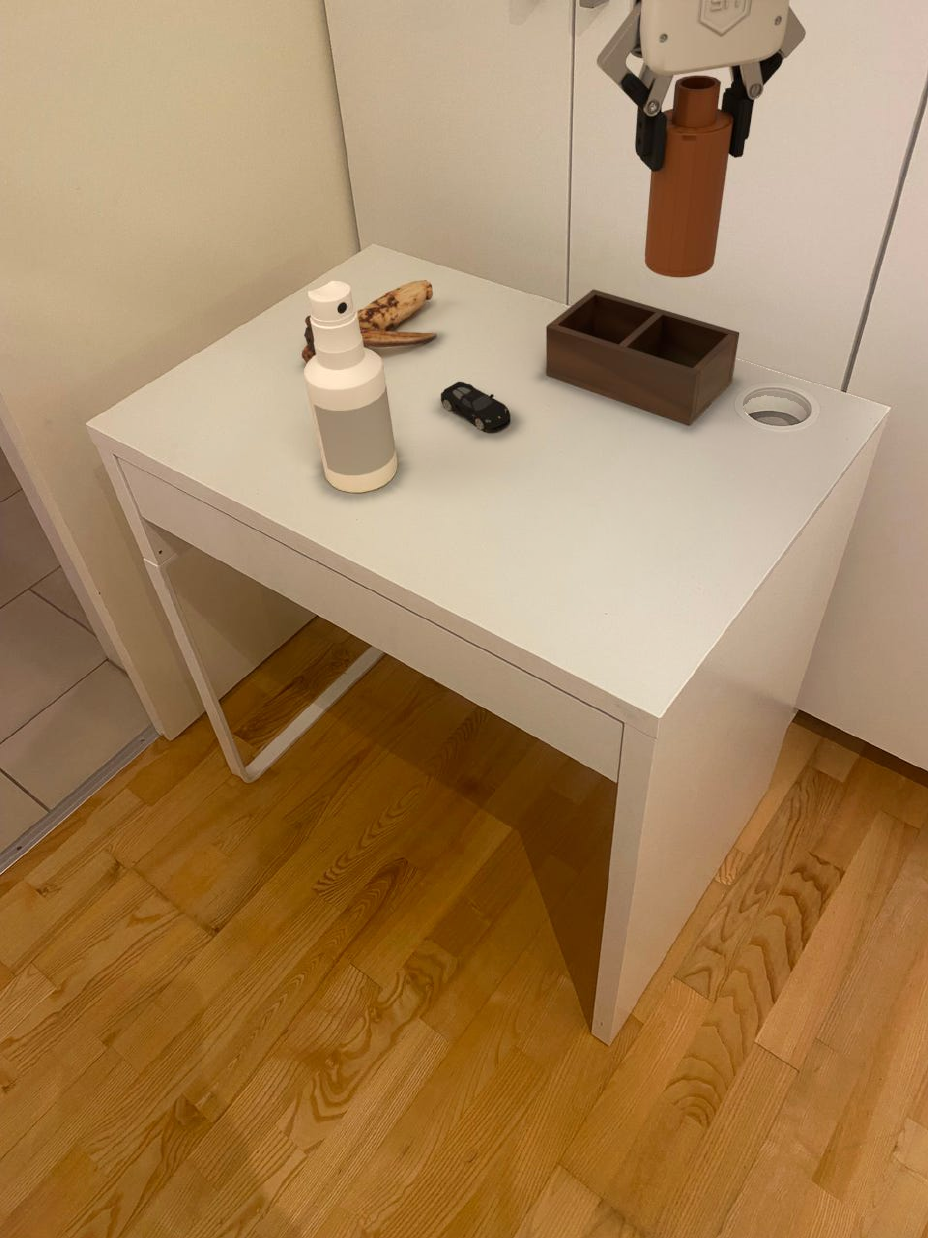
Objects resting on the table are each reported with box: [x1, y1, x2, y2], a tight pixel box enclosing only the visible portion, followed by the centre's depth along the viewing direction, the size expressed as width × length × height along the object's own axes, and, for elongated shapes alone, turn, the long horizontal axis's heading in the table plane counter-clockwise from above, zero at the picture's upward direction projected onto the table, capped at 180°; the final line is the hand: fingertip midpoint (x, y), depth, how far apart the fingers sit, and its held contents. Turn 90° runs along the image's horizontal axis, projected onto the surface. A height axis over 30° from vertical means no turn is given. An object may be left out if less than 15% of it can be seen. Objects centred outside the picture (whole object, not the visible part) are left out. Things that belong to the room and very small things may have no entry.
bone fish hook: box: [301, 279, 438, 364], centre depth 103 cm, size 9×5×18 cm
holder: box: [545, 289, 740, 427], centre depth 94 cm, size 9×16×6 cm, turn 52°
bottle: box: [644, 74, 733, 279], centre depth 74 cm, size 6×6×14 cm
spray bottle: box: [303, 280, 399, 493], centre depth 82 cm, size 7×7×18 cm
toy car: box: [440, 381, 512, 433], centre depth 93 cm, size 8×3×2 cm, turn 42°
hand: (690, 155), depth 73 cm, fingers closed on bottle, 5 cm apart
